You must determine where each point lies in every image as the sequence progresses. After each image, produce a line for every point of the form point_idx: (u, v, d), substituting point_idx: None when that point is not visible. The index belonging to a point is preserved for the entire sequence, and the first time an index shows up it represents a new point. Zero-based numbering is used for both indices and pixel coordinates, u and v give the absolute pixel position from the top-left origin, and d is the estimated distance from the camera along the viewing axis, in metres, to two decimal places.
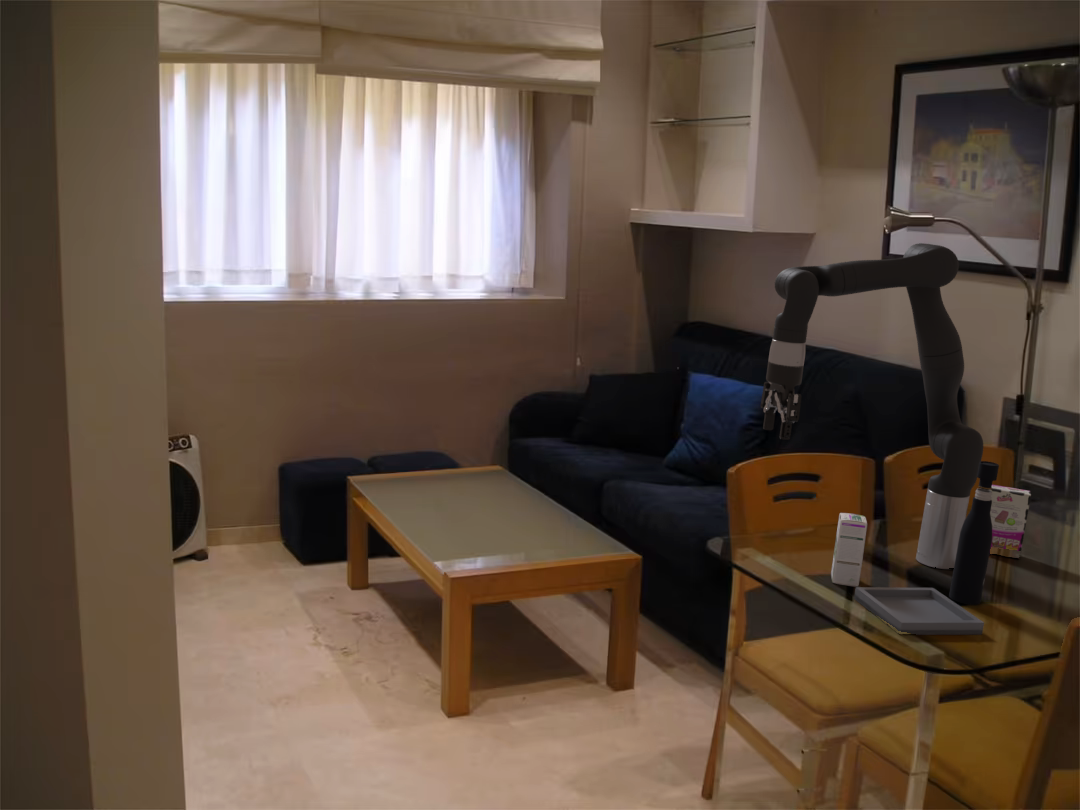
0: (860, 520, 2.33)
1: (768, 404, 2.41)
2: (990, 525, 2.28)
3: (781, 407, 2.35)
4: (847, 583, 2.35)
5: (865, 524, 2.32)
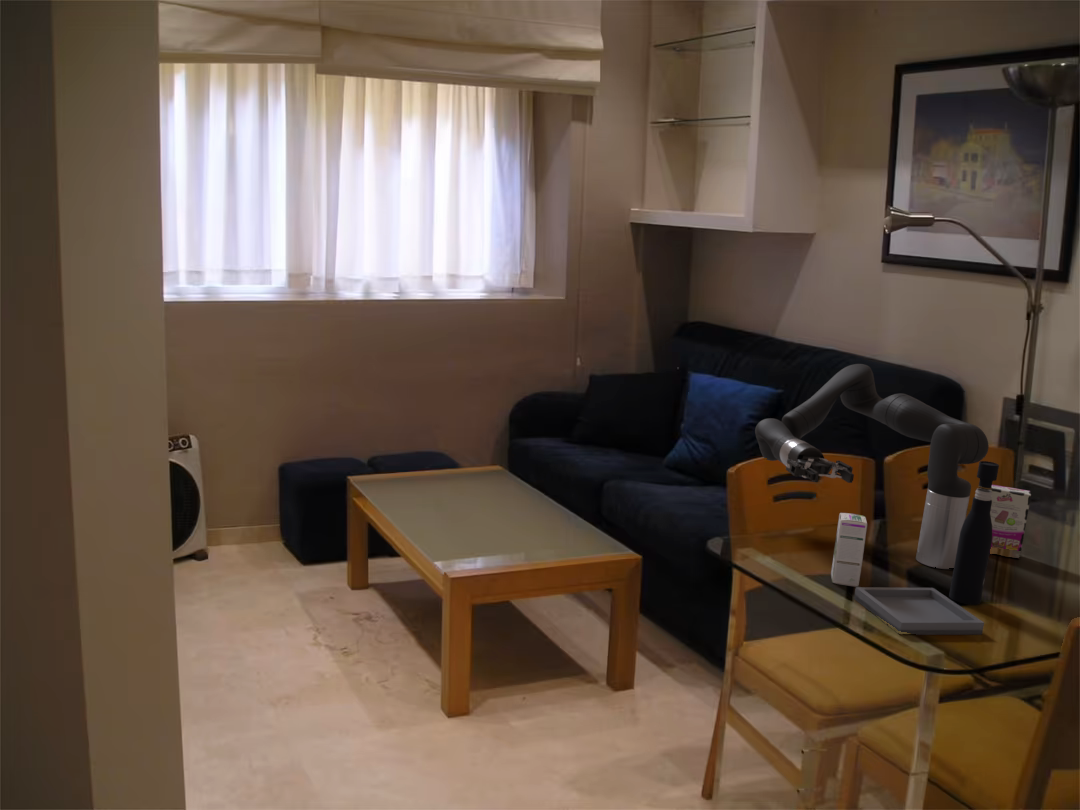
0: (860, 520, 2.33)
1: (811, 464, 2.49)
2: (990, 525, 2.28)
3: None
4: (847, 583, 2.35)
5: (865, 524, 2.32)
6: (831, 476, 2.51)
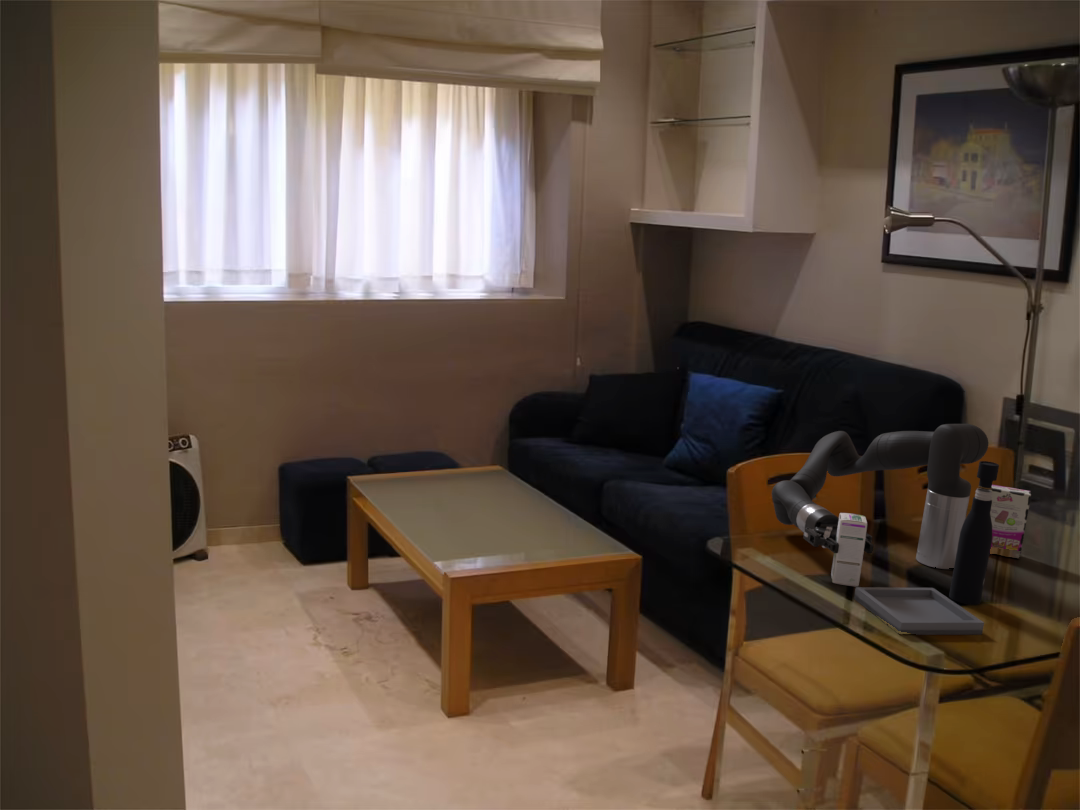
0: (860, 520, 2.33)
1: (830, 533, 2.39)
2: (990, 525, 2.28)
3: None
4: (847, 583, 2.35)
5: (865, 524, 2.32)
6: None
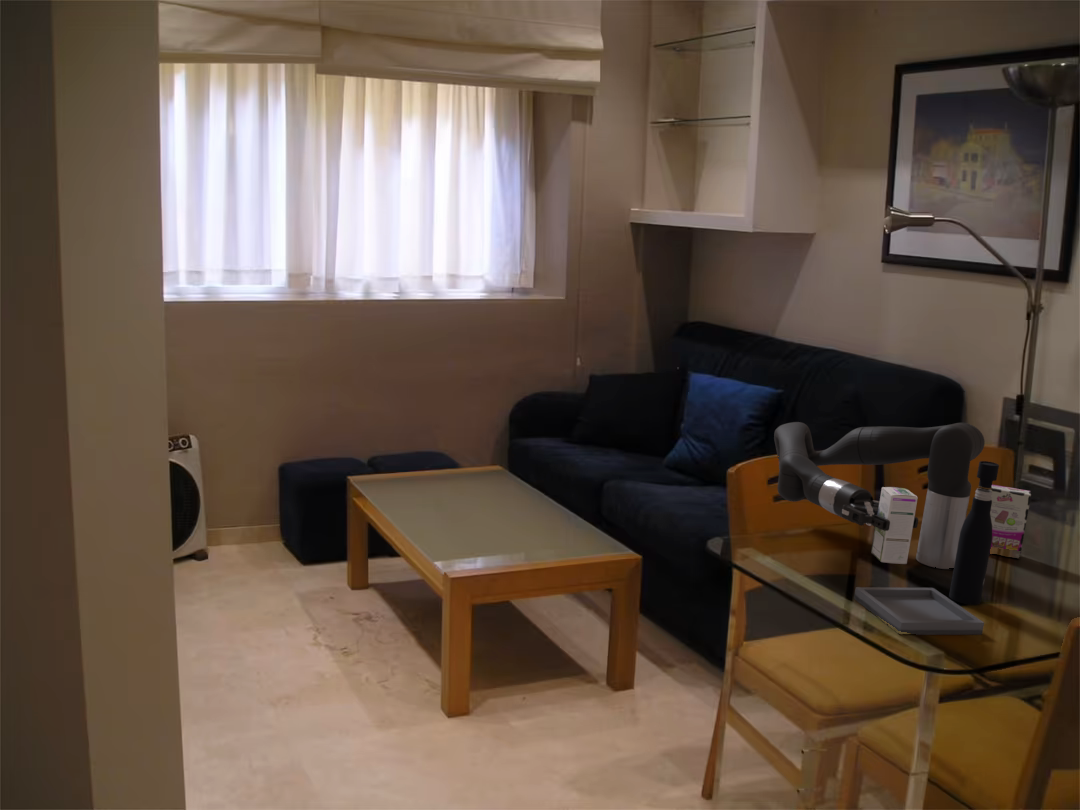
0: (909, 494, 2.20)
1: None
2: (990, 525, 2.28)
3: None
4: (896, 561, 2.22)
5: (916, 498, 2.19)
6: None
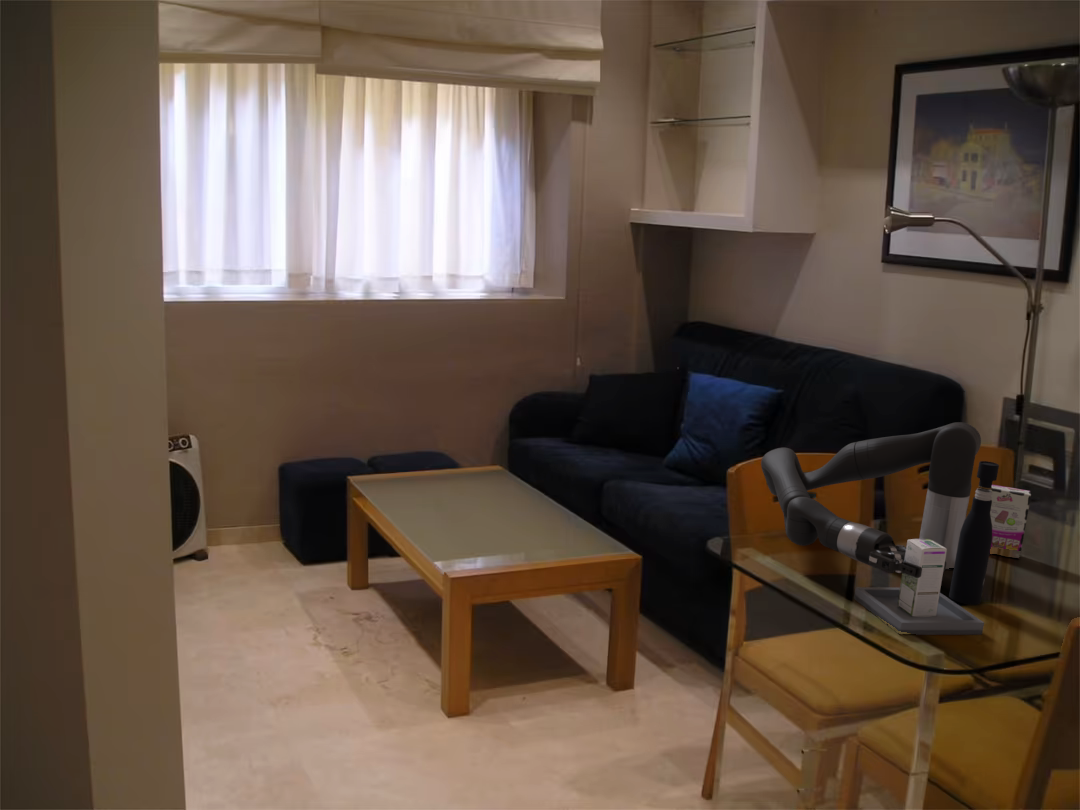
0: (938, 546, 2.17)
1: None
2: (990, 525, 2.28)
3: None
4: (926, 614, 2.18)
5: (945, 550, 2.16)
6: None
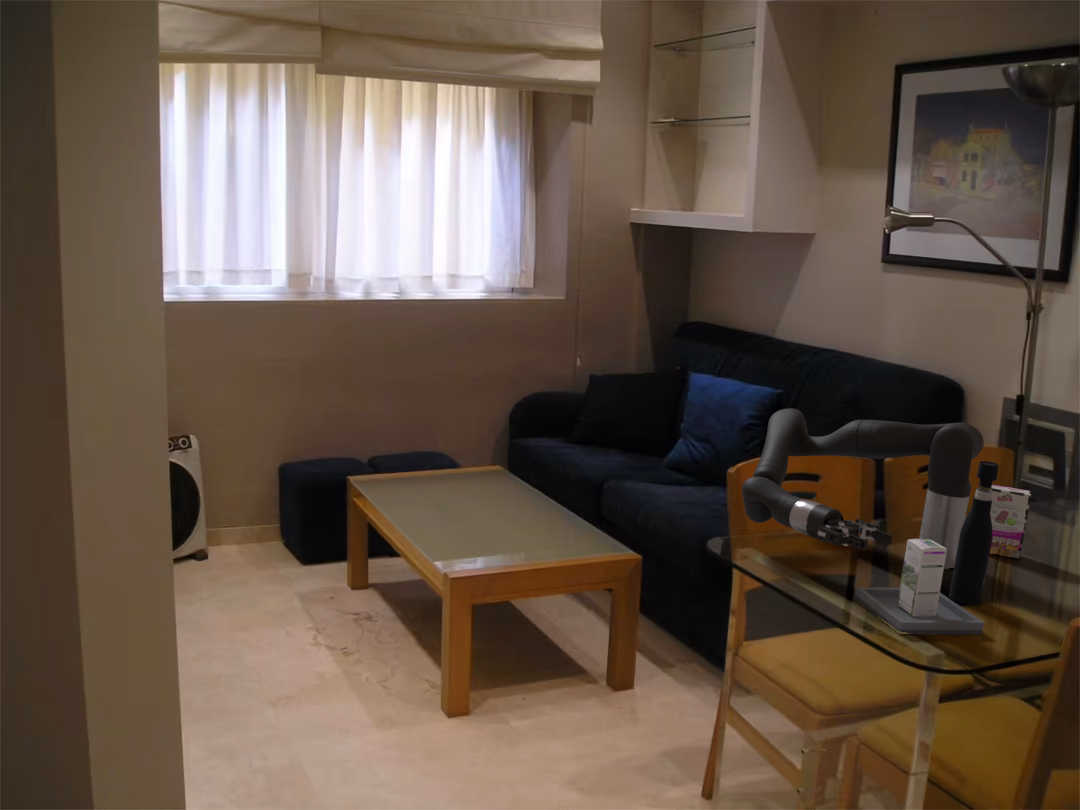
0: (938, 546, 2.17)
1: None
2: (990, 525, 2.28)
3: None
4: (926, 614, 2.18)
5: (945, 550, 2.16)
6: None
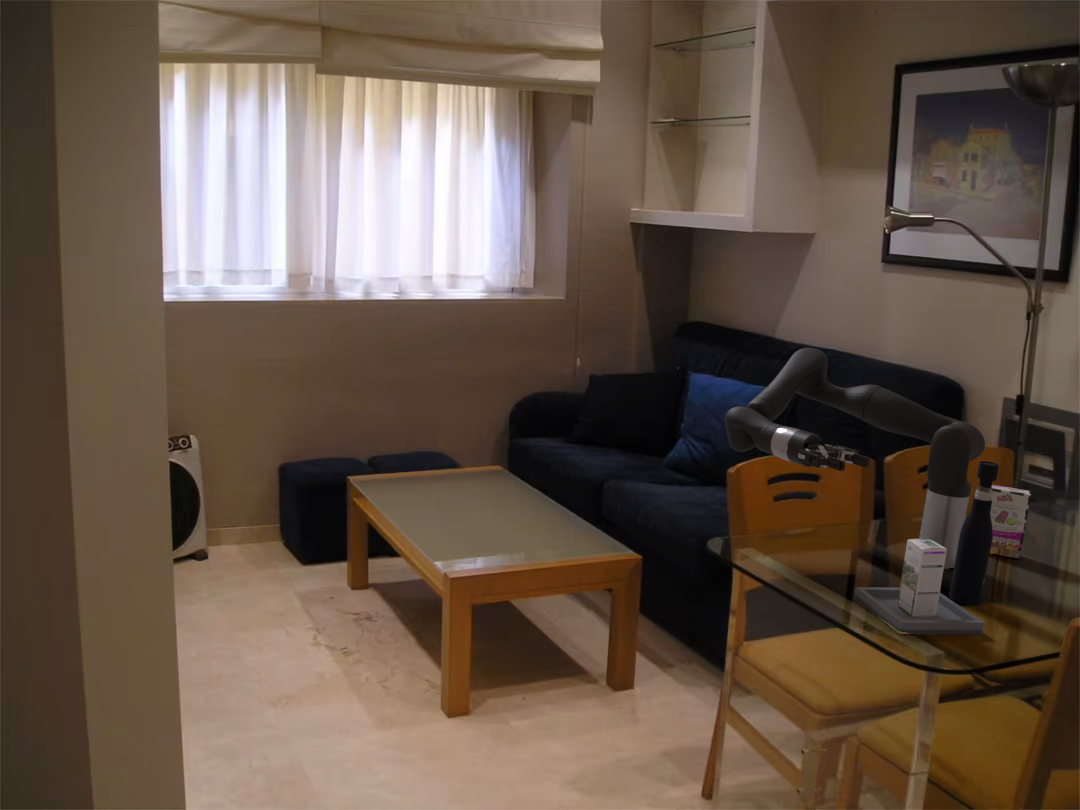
0: (938, 546, 2.17)
1: None
2: (990, 525, 2.28)
3: None
4: (926, 614, 2.18)
5: (945, 550, 2.16)
6: None
